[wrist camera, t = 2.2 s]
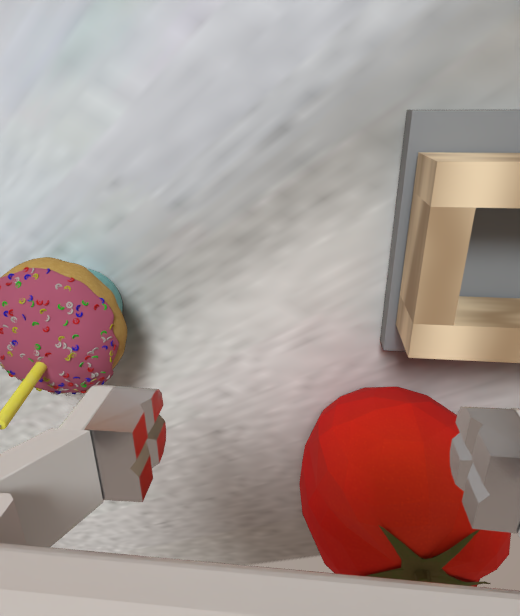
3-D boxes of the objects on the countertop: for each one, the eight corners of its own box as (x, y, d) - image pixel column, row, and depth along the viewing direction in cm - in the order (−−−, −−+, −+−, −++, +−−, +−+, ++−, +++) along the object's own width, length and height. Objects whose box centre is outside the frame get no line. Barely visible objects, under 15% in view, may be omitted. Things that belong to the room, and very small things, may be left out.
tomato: (350, 515, 37) (365, 677, 27) (264, 394, 33) (242, 528, 23) (501, 463, 34) (586, 627, 23) (424, 320, 30) (486, 440, 19)
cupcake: (165, 342, 32) (90, 464, 22) (60, 363, 34) (-59, 486, 23) (119, 226, 29) (4, 300, 18) (6, 255, 31) (-161, 339, 20)
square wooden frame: (624, 153, 23) (682, 163, 19) (569, 331, 27) (609, 367, 23) (418, 152, 24) (437, 161, 20) (395, 324, 28) (408, 357, 24)
